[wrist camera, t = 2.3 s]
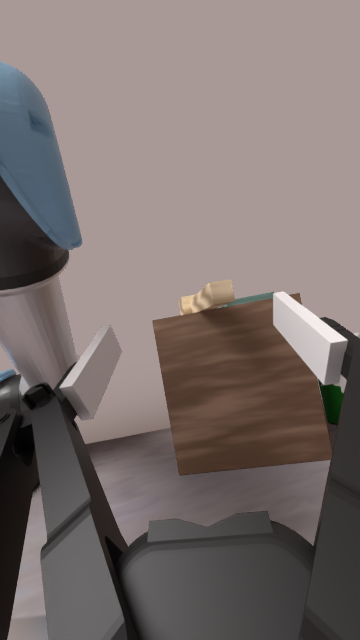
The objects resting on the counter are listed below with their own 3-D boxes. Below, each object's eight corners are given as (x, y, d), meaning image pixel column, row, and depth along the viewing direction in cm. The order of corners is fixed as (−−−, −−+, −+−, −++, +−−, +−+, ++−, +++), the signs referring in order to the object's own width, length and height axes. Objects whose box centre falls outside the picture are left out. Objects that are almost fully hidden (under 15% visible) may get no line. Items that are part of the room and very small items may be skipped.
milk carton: (331, 407, 49) (314, 327, 50) (382, 414, 43) (362, 322, 43) (322, 423, 43) (303, 332, 44) (380, 435, 37) (357, 327, 38)
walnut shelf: (333, 459, 33) (298, 287, 34) (179, 475, 36) (151, 315, 37) (294, 419, 47) (270, 297, 48) (185, 432, 50) (165, 317, 51)
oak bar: (245, 299, 27) (240, 270, 27) (203, 306, 26) (197, 276, 27) (206, 313, 48) (203, 297, 48) (181, 318, 47) (178, 301, 47)
